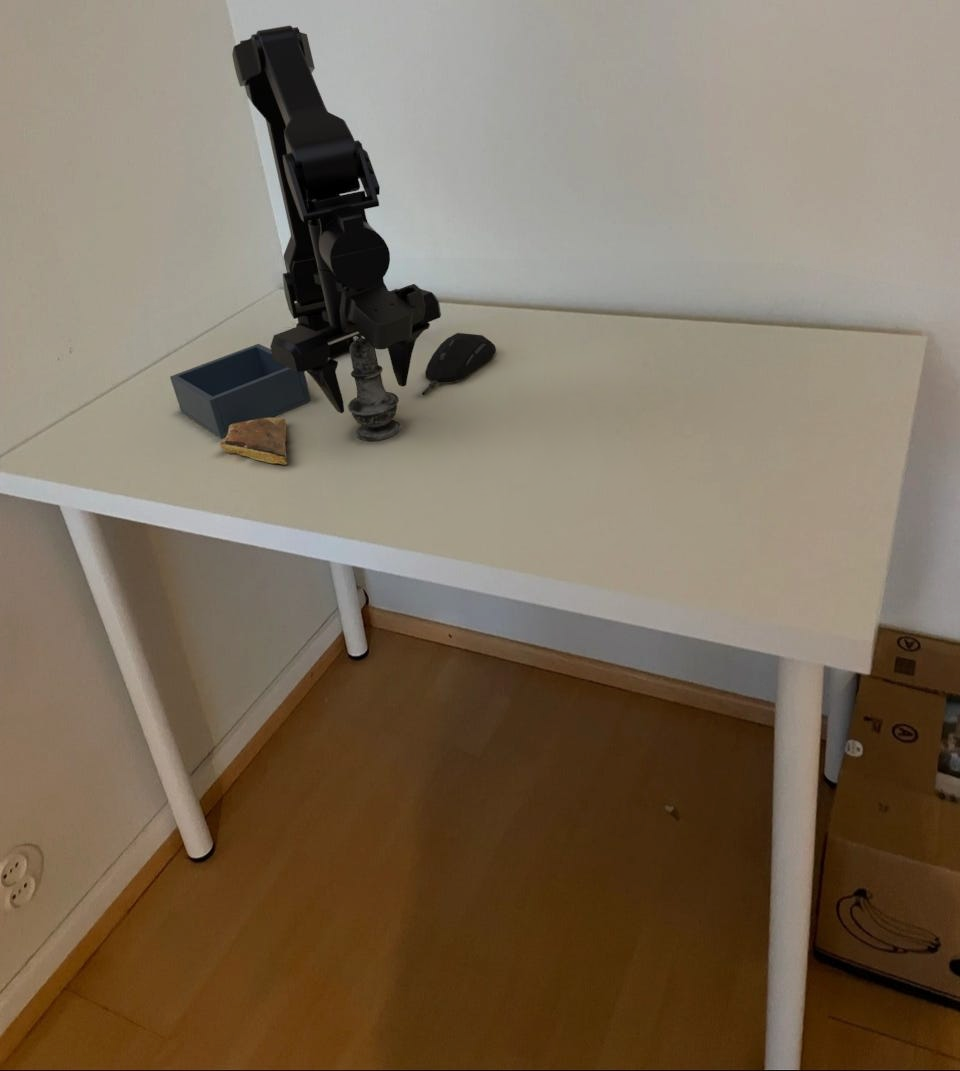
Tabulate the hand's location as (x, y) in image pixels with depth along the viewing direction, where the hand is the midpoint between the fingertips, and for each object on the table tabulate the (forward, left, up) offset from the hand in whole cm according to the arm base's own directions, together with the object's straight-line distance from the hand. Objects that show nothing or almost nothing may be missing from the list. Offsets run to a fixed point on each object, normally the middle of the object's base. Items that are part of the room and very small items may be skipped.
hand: (372, 398), depth 108 cm
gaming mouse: (-16, -6, -4) cm, 18 cm away
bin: (+7, -20, -4) cm, 22 cm away
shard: (+10, -7, -4) cm, 13 cm away
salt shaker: (0, 0, -4) cm, 4 cm away
